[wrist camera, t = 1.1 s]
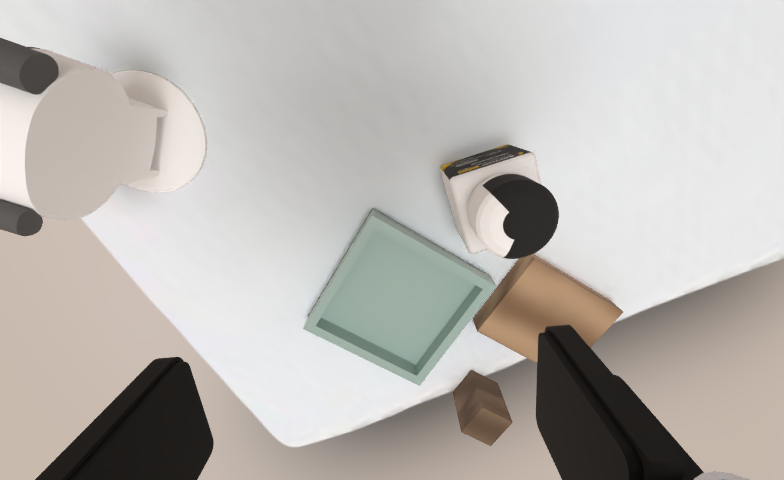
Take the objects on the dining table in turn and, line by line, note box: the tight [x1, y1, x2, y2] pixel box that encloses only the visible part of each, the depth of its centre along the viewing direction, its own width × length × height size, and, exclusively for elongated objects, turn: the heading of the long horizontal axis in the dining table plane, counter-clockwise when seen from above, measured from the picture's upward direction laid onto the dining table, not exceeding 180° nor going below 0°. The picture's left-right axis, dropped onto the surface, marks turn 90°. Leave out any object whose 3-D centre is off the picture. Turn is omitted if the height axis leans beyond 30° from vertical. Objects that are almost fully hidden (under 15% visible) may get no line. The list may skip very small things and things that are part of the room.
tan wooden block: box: [473, 254, 623, 363], centre depth 41 cm, size 10×12×3 cm
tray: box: [303, 209, 496, 386], centre depth 41 cm, size 15×15×2 cm
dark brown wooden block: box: [453, 370, 512, 446], centre depth 43 cm, size 4×4×6 cm
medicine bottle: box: [440, 145, 559, 259], centre depth 32 cm, size 7×7×12 cm
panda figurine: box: [0, 38, 207, 236], centre depth 29 cm, size 12×11×15 cm
